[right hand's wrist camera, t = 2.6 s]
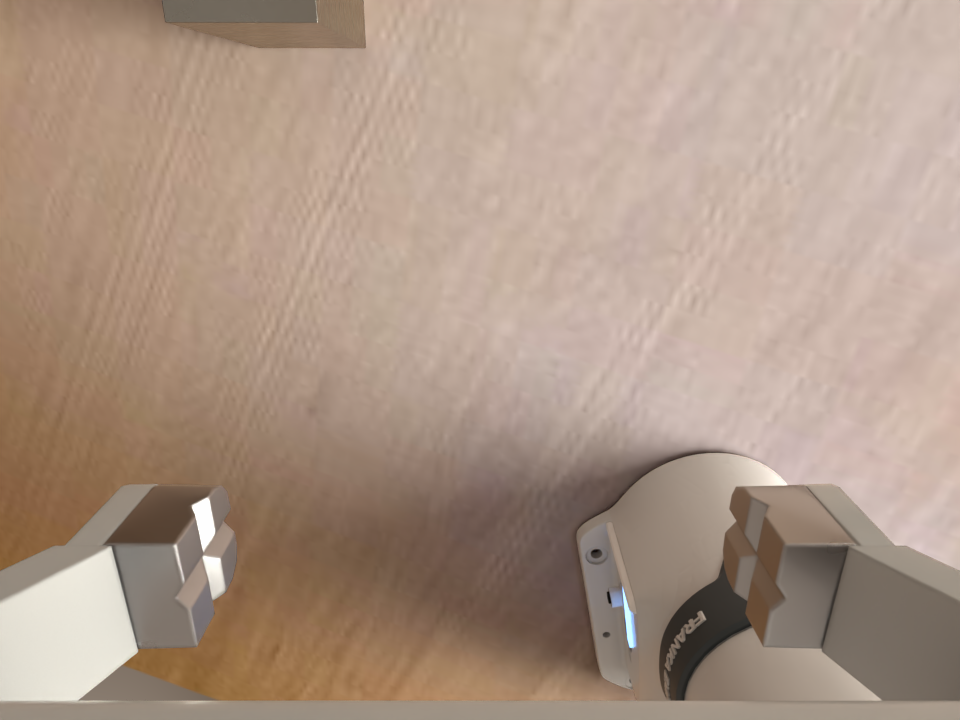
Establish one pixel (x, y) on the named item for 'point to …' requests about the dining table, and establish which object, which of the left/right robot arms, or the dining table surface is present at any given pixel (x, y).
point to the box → (274, 21)
